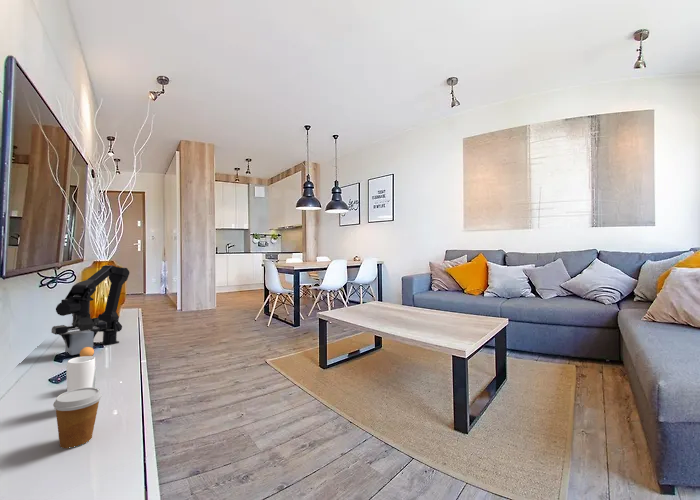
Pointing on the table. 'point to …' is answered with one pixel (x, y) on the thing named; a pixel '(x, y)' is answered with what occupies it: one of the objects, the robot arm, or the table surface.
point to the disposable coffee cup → (76, 415)
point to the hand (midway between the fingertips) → (79, 345)
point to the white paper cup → (80, 372)
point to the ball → (87, 352)
